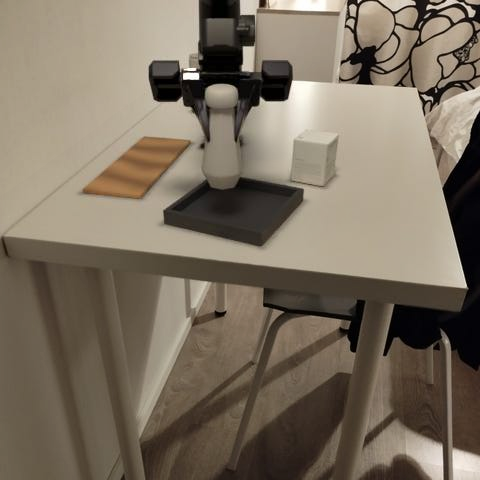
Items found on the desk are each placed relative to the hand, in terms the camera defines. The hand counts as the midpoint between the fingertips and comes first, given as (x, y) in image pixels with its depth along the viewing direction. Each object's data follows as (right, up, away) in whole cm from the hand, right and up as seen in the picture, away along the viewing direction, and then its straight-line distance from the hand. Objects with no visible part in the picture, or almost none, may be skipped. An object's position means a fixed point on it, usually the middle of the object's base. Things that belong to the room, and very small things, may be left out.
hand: (222, 141), depth 68 cm
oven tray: (+2, -7, +11) cm, 13 cm away
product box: (+15, +1, +22) cm, 27 cm away
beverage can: (-7, +26, +54) cm, 61 cm away
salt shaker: (0, -4, +5) cm, 7 cm away
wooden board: (-15, +5, +26) cm, 31 cm away
